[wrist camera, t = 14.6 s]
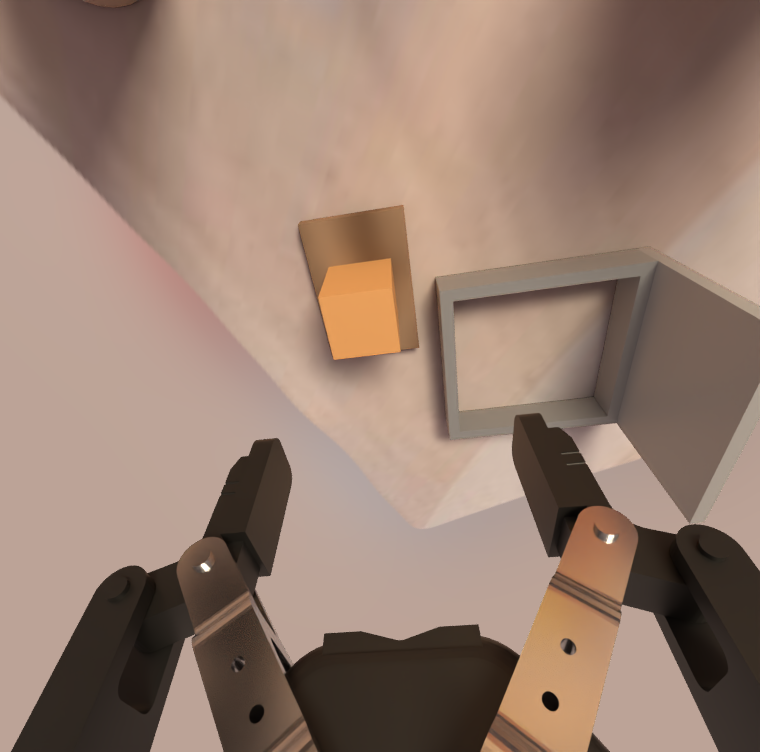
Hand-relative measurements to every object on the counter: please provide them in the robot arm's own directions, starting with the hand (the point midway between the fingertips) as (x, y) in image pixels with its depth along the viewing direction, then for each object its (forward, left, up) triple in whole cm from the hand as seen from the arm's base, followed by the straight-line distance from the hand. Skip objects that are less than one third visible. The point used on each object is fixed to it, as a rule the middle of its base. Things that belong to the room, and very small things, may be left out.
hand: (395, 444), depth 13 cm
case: (+12, -11, -22) cm, 27 cm away
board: (-2, -3, -22) cm, 22 cm away
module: (-2, -3, -21) cm, 21 cm away
